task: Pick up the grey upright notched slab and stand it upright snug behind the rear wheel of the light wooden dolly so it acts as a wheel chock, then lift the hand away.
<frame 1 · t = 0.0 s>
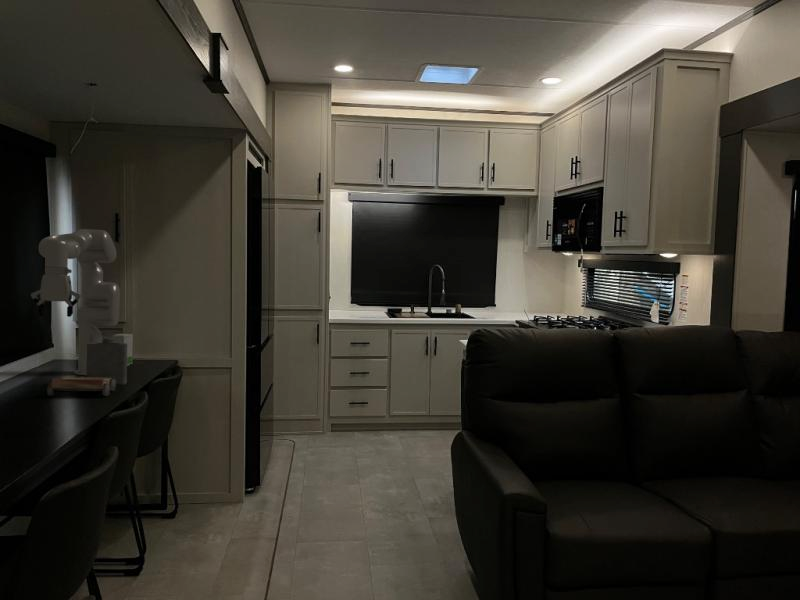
hand: (55, 316, 230), 31 cm above the table, tool pointing down, fingers open, 9 cm apart
dolly: (82, 393, 238), on the table
grey upright notched slab: (106, 383, 257), on the table
skincare box: (122, 365, 298), on the table
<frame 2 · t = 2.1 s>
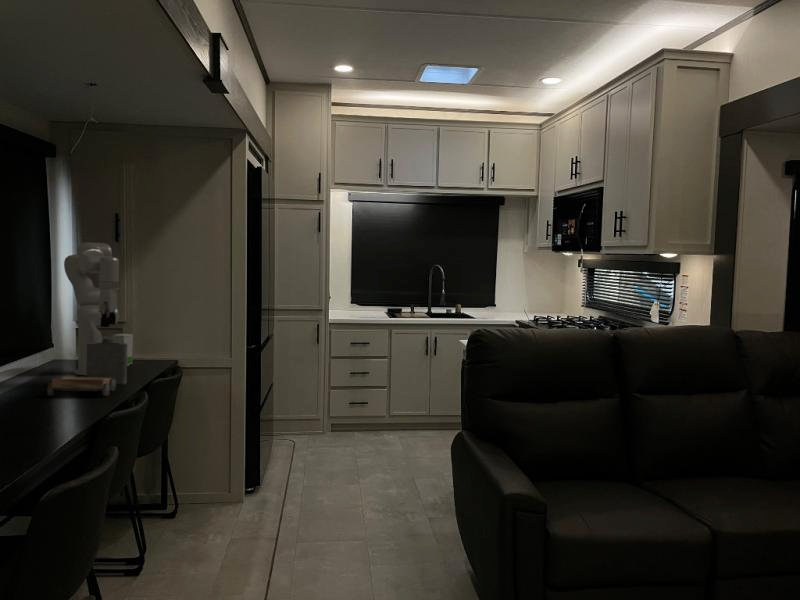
hand: (108, 325, 255), 25 cm above the table, tool pointing down, fingers open, 9 cm apart
nothing on the table moved.
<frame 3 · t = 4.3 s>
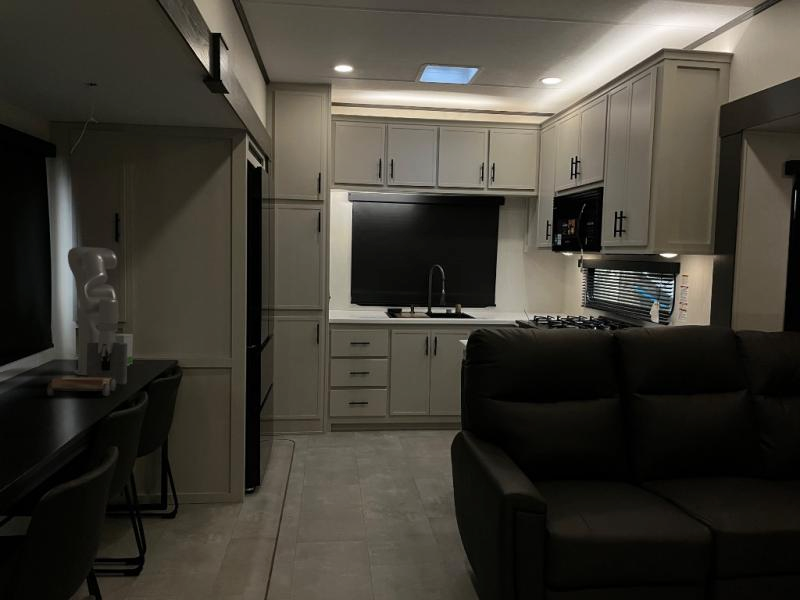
hand: (107, 368, 257), 6 cm above the table, tool pointing down, fingers closed on grey upright notched slab, 3 cm apart
grey upright notched slab: (106, 383, 257), on the table, touching gripper
everything else where it was.
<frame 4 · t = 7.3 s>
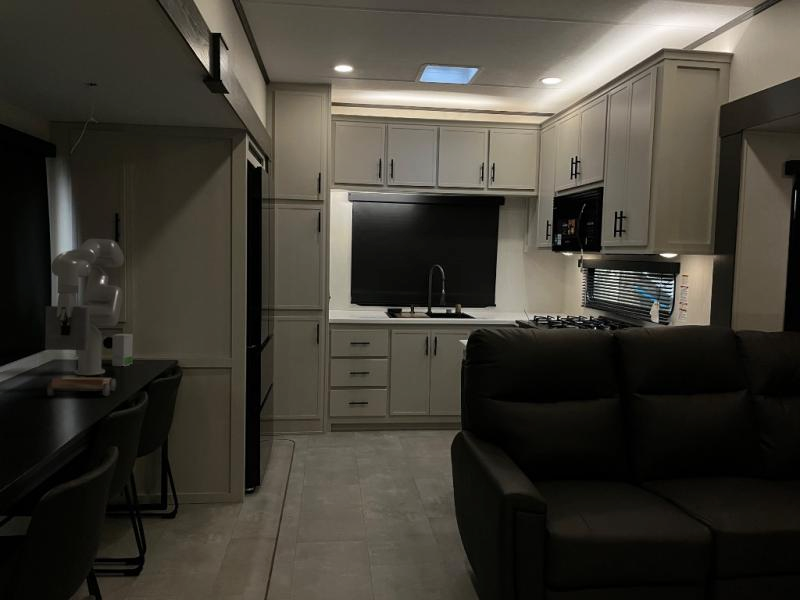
hand: (67, 334, 244), 22 cm above the table, tool pointing down, fingers closed on grey upright notched slab, 3 cm apart
grey upright notched slab: (67, 349, 245), point 16 cm above the table, touching gripper
everything else where it was.
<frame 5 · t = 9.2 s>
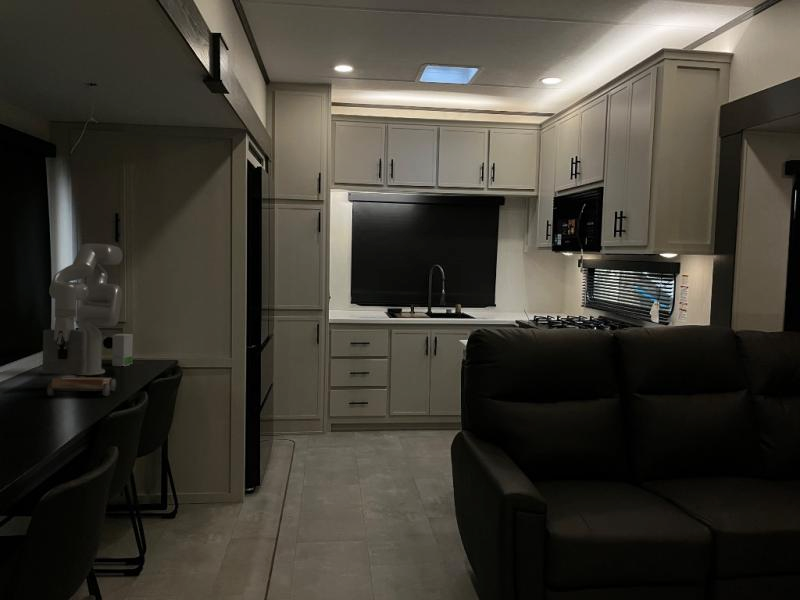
hand: (64, 357, 244), 13 cm above the table, tool pointing down, fingers closed on grey upright notched slab, 3 cm apart
grey upright notched slab: (64, 373, 245), point 6 cm above the table, touching gripper
everything else where it was.
when the fingers open (7 cm above the table, at t = 10.6 s): grey upright notched slab stays where it is, on the table.
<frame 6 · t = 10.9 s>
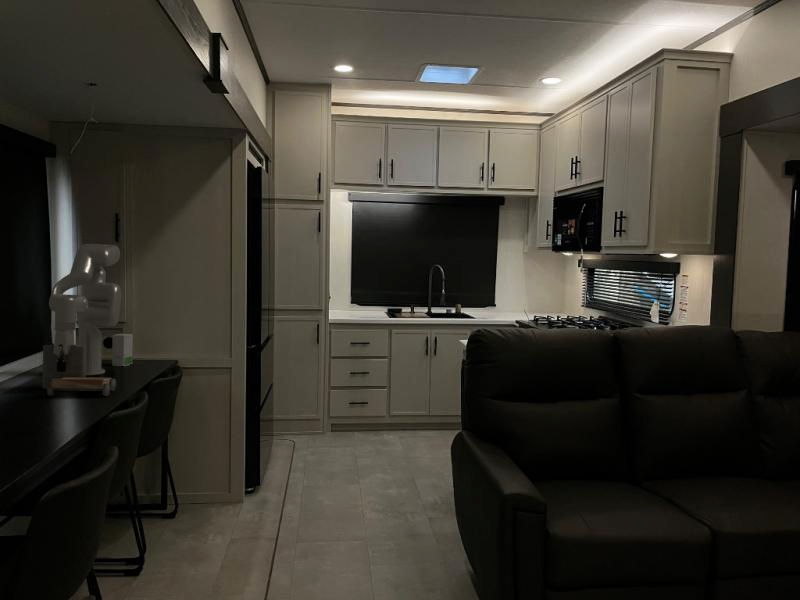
hand: (64, 369, 245), 8 cm above the table, tool pointing down, fingers open, 7 cm apart
grey upright notched slab: (64, 388, 245), on the table
everything else where it was.
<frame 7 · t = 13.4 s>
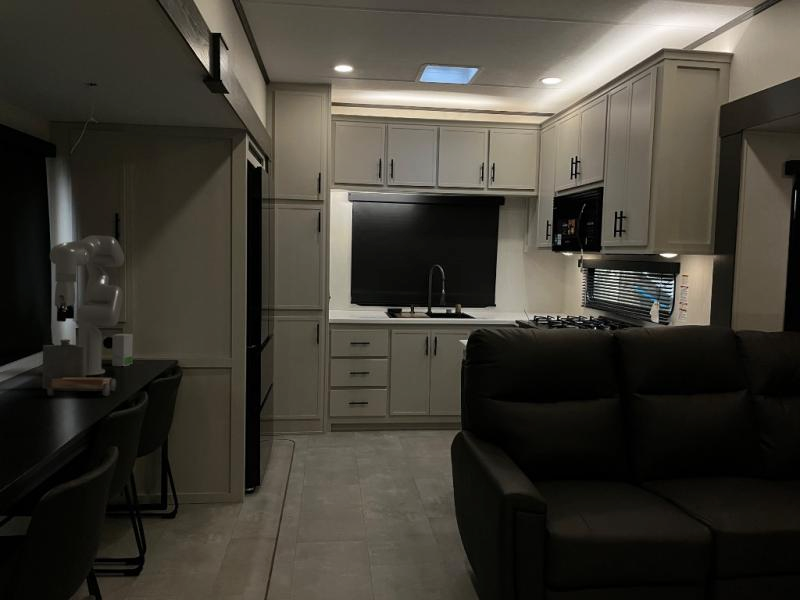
hand: (65, 320, 244), 28 cm above the table, tool pointing down, fingers open, 9 cm apart
nothing on the table moved.
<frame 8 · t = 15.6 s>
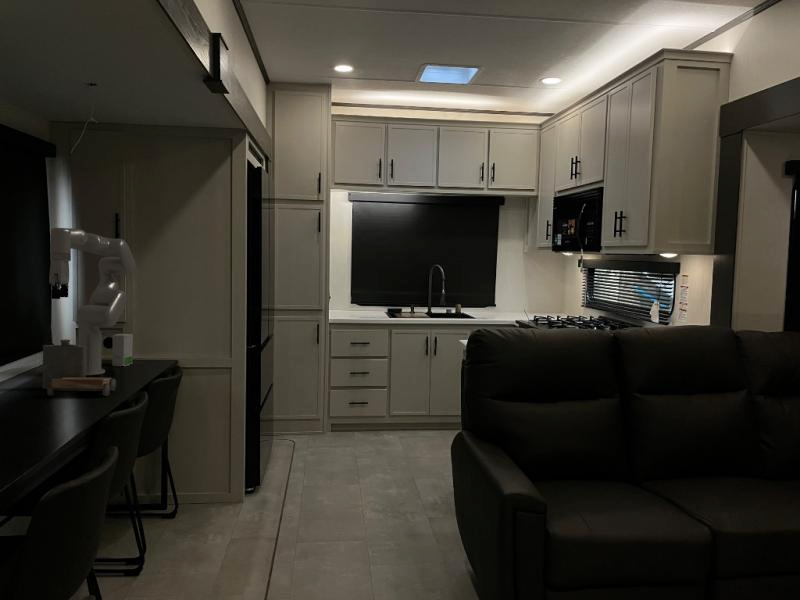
hand: (59, 298, 251), 36 cm above the table, tool pointing down, fingers open, 9 cm apart
nothing on the table moved.
at the end: grey upright notched slab inside the target area on the table beside the dolly (1.0 cm from its centre), on the table; grey upright notched slab tilted 0°; the gripper is holding nothing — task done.
